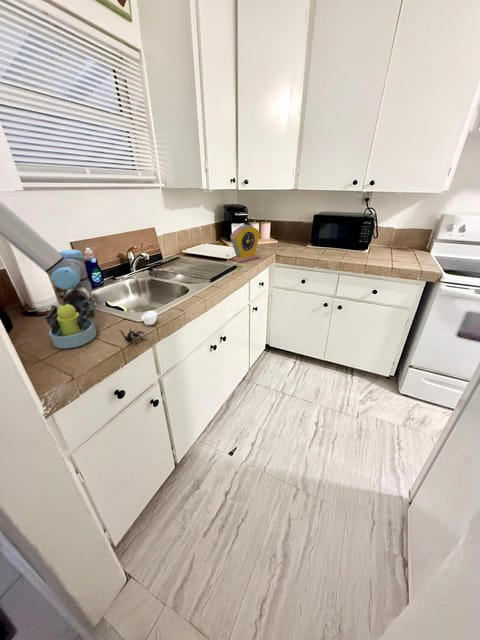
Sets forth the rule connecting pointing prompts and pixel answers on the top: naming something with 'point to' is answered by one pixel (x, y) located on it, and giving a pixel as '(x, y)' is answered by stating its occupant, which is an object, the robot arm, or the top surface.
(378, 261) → the top surface
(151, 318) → the dumpling
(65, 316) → the yellow-green bottle
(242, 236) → the yellow mantel clock
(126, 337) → the creature
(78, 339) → the bowl
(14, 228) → the robot arm
